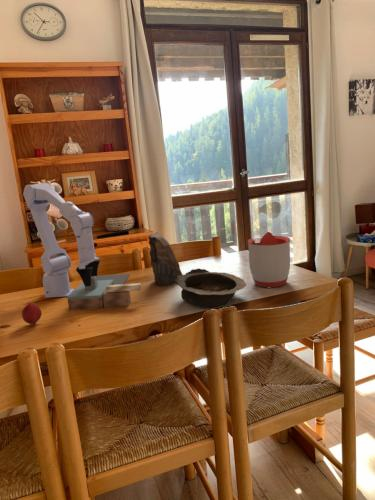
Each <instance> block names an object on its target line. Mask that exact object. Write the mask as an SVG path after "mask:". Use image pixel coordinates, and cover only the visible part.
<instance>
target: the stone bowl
mask: <svg viewBox="0 0 375 500" xmlns="http://www.w3.org/2000/svg"><path fill="white" fill-rule="evenodd" d="M174 281H175V283H174V284H176V285H178V286H179V287H180V289H181V293H180V294H181V299H182V300H183V301H190V302H192V303H193V304H194V306H195V307H197V308H201V309H206V308H215V307H217V306H223V305H224V306H225V305H228V304H229V303H230V302H231V301H232V300H233V298H234V296H235V293H237V292H239V291H241V290H243V289H244V288H246V286H247V282H246V281H245V280H244V279H243V278H242V277H239V276H236V275H234V274H232V273H227V272H219V271H218V272H217V271H212V272H211V271H209V270H206V269H205V268H195V269H193V268H192V269H190V271H188V272H186V273H185V274H183V275H177V277H176V278H174Z"/></svg>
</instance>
